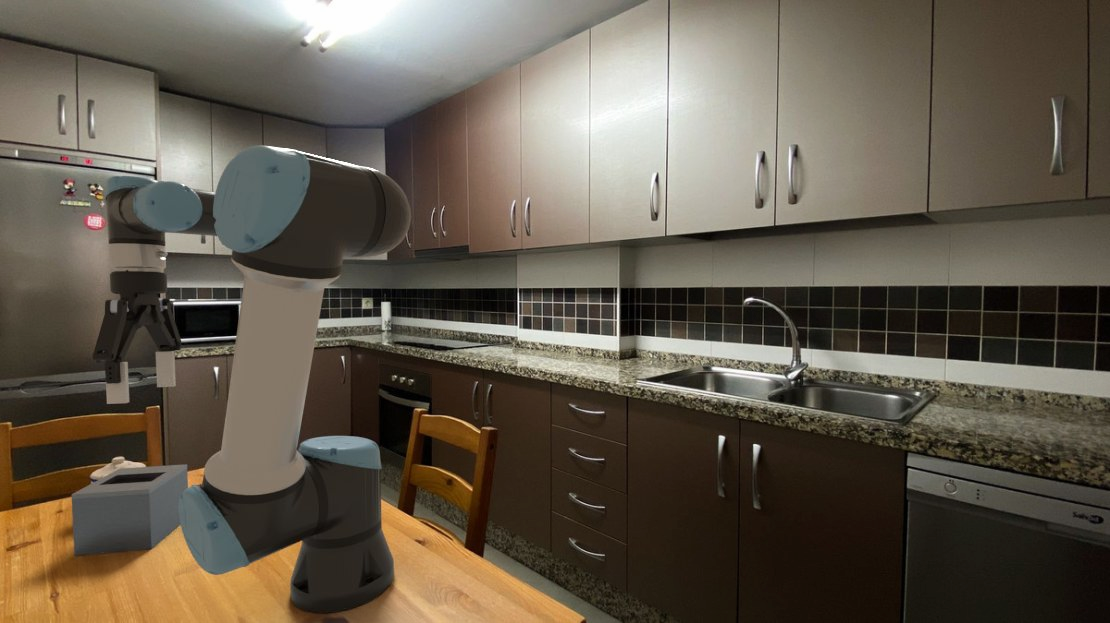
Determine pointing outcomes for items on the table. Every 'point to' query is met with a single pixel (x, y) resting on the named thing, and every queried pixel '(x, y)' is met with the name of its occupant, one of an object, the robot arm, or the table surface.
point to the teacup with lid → (113, 468)
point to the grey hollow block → (128, 509)
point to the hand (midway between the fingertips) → (144, 394)
